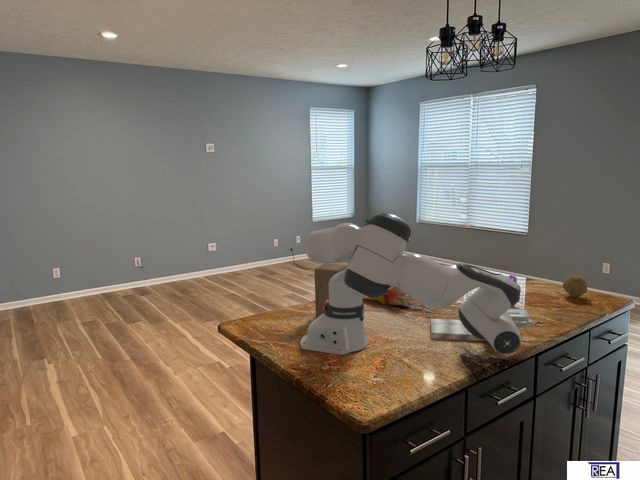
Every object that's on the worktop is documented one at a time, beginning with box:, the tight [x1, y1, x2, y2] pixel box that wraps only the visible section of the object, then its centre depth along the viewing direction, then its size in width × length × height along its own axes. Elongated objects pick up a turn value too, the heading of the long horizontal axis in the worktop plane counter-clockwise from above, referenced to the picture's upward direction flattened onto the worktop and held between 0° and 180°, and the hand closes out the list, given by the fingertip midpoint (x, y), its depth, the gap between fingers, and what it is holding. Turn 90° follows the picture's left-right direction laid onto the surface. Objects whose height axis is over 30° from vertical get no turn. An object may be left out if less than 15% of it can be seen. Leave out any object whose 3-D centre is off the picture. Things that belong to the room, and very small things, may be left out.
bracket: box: [506, 274, 518, 284], centre depth 209 cm, size 13×6×7 cm, turn 31°
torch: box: [369, 286, 415, 308], centre depth 192 cm, size 8×8×25 cm
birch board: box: [430, 318, 488, 342], centre depth 157 cm, size 24×14×2 cm, turn 78°
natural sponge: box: [562, 274, 588, 299], centre depth 192 cm, size 9×9×10 cm
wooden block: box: [313, 263, 348, 319], centre depth 176 cm, size 10×10×20 cm
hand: (490, 308), depth 149 cm, fingers closed on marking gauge, 3 cm apart
